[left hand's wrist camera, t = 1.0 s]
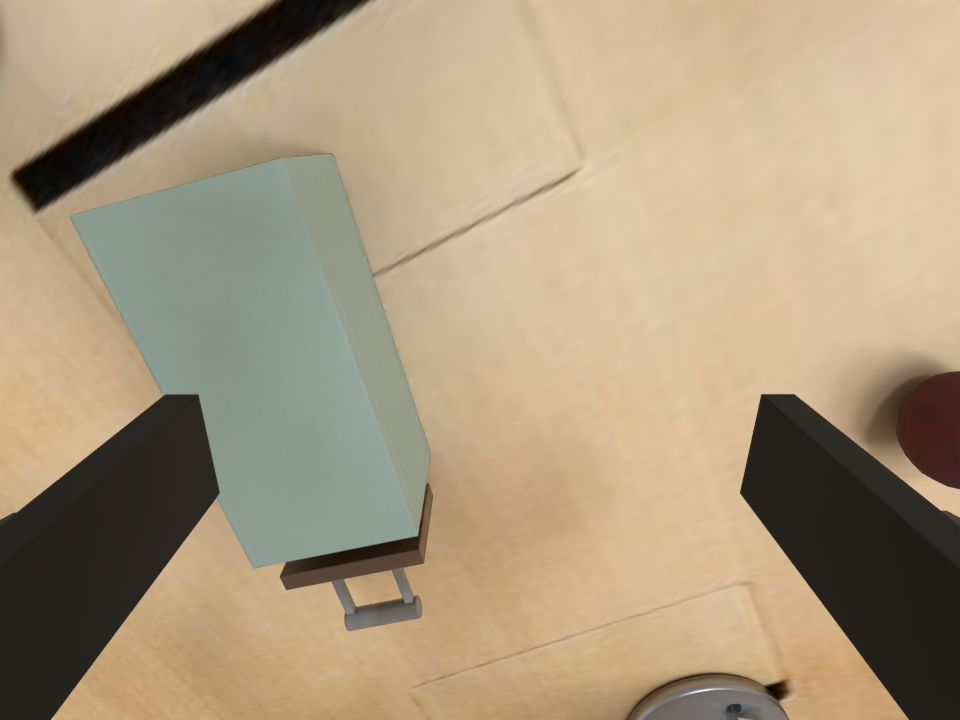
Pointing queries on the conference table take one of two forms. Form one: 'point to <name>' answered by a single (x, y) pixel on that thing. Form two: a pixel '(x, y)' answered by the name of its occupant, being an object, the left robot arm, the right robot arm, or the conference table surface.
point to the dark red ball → (933, 428)
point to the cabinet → (273, 351)
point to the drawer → (365, 563)
